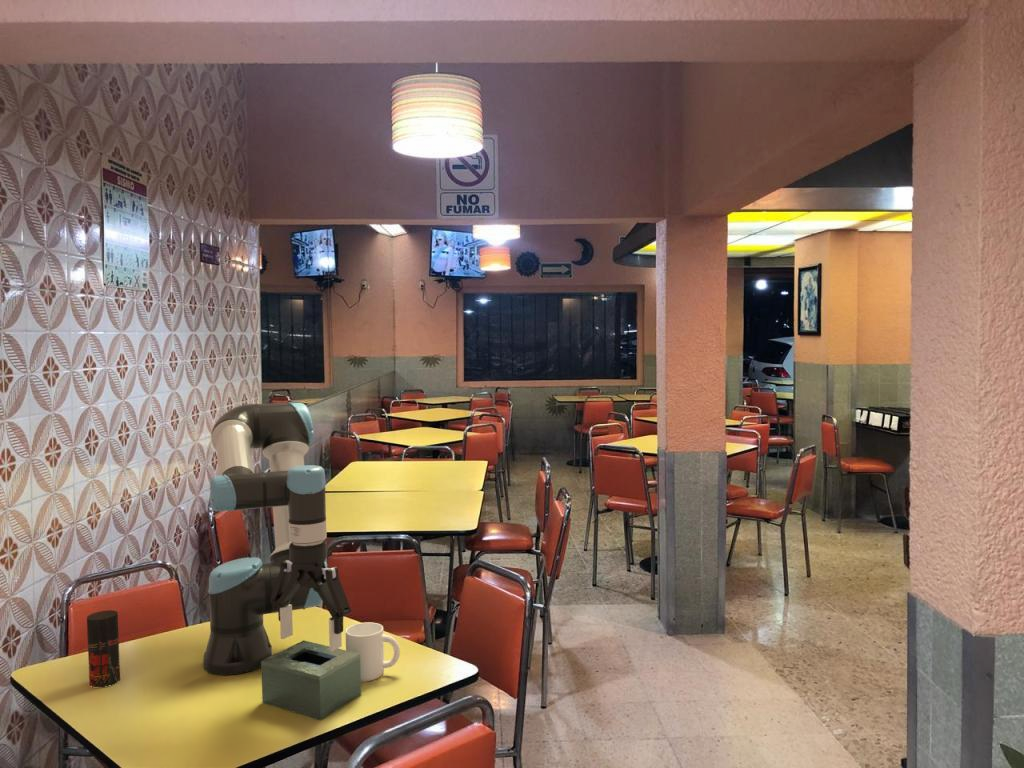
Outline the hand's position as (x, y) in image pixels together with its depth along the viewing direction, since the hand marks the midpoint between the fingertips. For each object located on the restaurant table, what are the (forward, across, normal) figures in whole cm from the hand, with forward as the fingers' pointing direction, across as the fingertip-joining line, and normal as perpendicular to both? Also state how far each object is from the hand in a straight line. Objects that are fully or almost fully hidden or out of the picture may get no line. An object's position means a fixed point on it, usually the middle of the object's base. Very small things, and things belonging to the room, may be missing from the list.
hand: (310, 642), depth 153 cm
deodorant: (+12, -47, -15) cm, 51 cm away
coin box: (+12, 0, 0) cm, 12 cm away
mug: (+12, +4, +15) cm, 20 cm away
